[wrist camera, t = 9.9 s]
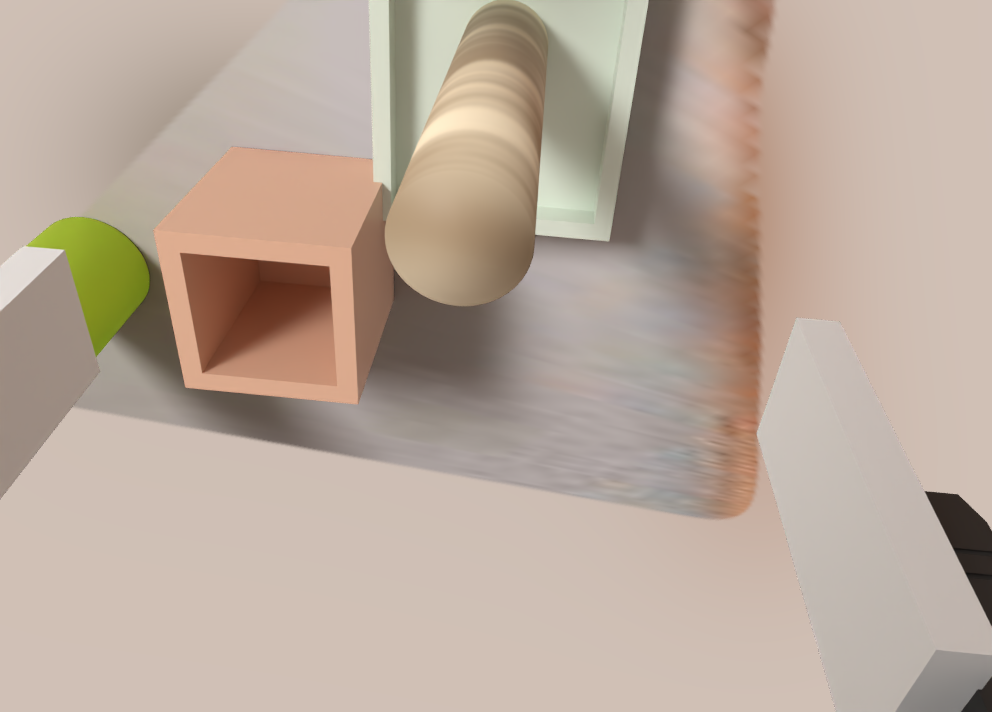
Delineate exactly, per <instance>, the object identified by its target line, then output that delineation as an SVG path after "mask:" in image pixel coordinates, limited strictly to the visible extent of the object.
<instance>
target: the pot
mask: <svg viewBox="0 0 992 712" xmlns="http://www.w3.org/2000/svg"><path fill="white" fill-rule="evenodd" d="M385 225H386V221H383V198H382V183H380V182H373V159H364V158H352V157H341V156H330V155H319V154H308V153H297V152H286V151H275V150H263V149H252V148H241V147H231V148H230V149H229V150H228V151H227V152H226V154H225V155H224V156H223V157H222V158H221V159H220V160H219V161H218V162H217V163H216V164H215V165H214V166H213V167H212V168H211V169H210V170H209V172H208V173H207V174H206V175H205V176H204V177H203V178H202V179H201V180H200V181H199V182H198V183H197V184H196V185H195V186H194V187H193V188H192V190H191V191H190V192H189V193H188V194H187V195H186V196H185V197H184V198H183V199H182V200H181V201H180V202H179V203H178V204H177V205H176V206H175V208H174V209H173V210H172V211H171V212H170V213H169V214H168V215H167V216H166V217H165V218H164V219H163V220H162V221H161V222H160V223H159V224H158V225H157V227H156V228H155V229H154V230H153V231H154V236H155V241H156V246H157V251H158V256H159V261H160V266H161V271H162V275H163V280H164V285H165V290H166V295H167V300H168V305H169V310H170V315H171V320H172V325H173V329H174V334H175V339H176V344H177V349H178V354H179V359H180V364H181V369H182V374H183V379H184V383H185V388H194V389H205V390H215V391H225V392H236V393H246V394H256V395H267V396H277V397H287V398H298V399H308V400H318V401H329V402H339V403H349V404H359V401H360V398H361V395H362V392H363V389H364V386H365V383H366V380H367V377H368V374H369V371H370V368H371V366H372V363H373V360H374V357H375V354H376V351H377V348H378V345H379V342H380V339H381V336H382V333H383V330H384V327H385V325H386V322H387V319H388V316H389V313H390V310H391V307H392V304H393V301H394V267H393V265H392V263H391V261H390V258H389V256H388V253H387V249H386V245H385Z"/></svg>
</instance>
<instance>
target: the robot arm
mask: <svg viewBox="0 0 992 712" xmlns="http://www.w3.org/2000/svg"><path fill="white" fill-rule="evenodd" d="M99 372H100V369H99V366H98V362H97V359H96V355H95V352H94V348H93V345H92V342H91V338H90V335H89V331H88V328H87V324H86V321H85V317H84V314H83V311H82V307H81V304H80V300H79V297H78V293H77V290H76V287H75V283H74V280H73V276H72V273H71V269H70V266H69V262H68V259H67V256H66V252H65V250H60V249H49V248H38V247H27V246H23V247H21V248H20V249H19V250H18V251H17V252H16V253H15V254H13V255H12V256H11V257H10V258H9V259H8V260H6V261H5V262H4V263H3V264H2V265H1V266H0V499H1V498H2V496H3V495H4V494H5V493H6V491H7V490H8V488H9V487H10V486H11V485H12V484H13V482H14V481H15V480H16V478H17V477H18V476H19V475H20V473H21V472H22V471H23V469H24V468H25V467H26V466H27V464H28V463H29V462H30V461H31V459H32V458H33V457H34V455H35V454H36V453H37V452H38V450H39V449H40V448H41V446H42V445H43V444H44V442H45V441H46V440H47V439H48V437H49V436H50V435H51V433H52V432H53V431H54V430H55V428H56V427H57V426H58V425H59V423H60V422H61V421H62V419H63V418H64V417H65V416H66V414H67V413H68V412H69V411H70V409H71V408H72V407H73V405H74V404H75V403H76V402H77V400H78V399H79V398H80V396H81V395H82V394H83V393H84V391H85V390H86V389H87V387H88V386H89V385H90V384H91V382H92V381H93V380H94V378H95V377H96V376H97V375H98V373H99ZM757 437H758V441H759V444H760V448H761V451H762V455H763V458H764V462H765V465H766V469H767V472H768V476H769V479H770V483H771V486H772V490H773V493H774V497H775V500H776V504H777V507H778V511H779V514H780V518H781V521H782V524H783V528H784V532H785V535H786V539H787V542H788V546H789V549H790V553H791V556H792V560H793V563H794V567H795V570H796V574H797V577H798V581H799V584H800V588H801V591H802V595H803V598H804V601H805V605H806V609H807V612H808V616H809V619H810V623H811V626H812V630H813V633H814V637H815V640H816V644H817V647H818V651H819V654H820V658H821V661H822V665H823V668H824V672H825V675H826V678H827V682H828V686H829V689H830V693H831V696H832V699H833V703H834V707H835V710H836V712H992V531H991V529H990V527H989V525H988V524H987V522H986V521H985V520H984V519H983V518H982V517H981V516H980V515H979V514H978V513H977V512H976V511H974V510H973V509H972V508H971V507H970V506H969V505H968V504H967V503H966V502H965V501H964V500H963V499H962V498H961V497H960V496H959V495H957V494H948V493H937V492H927V491H924V489H923V488H922V486H921V483H920V481H919V479H918V477H917V475H916V474H915V471H914V469H913V468H912V465H911V463H910V461H909V459H908V457H907V455H906V453H905V451H904V449H903V447H902V445H901V443H900V441H899V439H898V437H897V435H896V433H895V431H894V430H893V427H892V425H891V423H890V421H889V419H888V417H887V415H886V413H885V411H884V409H883V407H882V405H881V403H880V401H879V399H878V397H877V395H876V393H875V391H874V389H873V387H872V385H871V383H870V381H869V379H868V377H867V375H866V373H865V371H864V369H863V367H862V365H861V363H860V361H859V359H858V357H857V355H856V353H855V351H854V349H853V347H852V345H851V343H850V341H849V339H848V337H847V334H846V333H845V330H844V329H843V327H842V325H841V322H840V321H830V320H819V319H809V318H808V319H807V318H796V320H795V323H794V326H793V329H792V332H791V335H790V338H789V341H788V344H787V346H786V349H785V352H784V355H783V358H782V361H781V364H780V367H779V370H778V373H777V376H776V378H775V381H774V384H773V387H772V390H771V393H770V396H769V399H768V402H767V405H766V407H765V411H764V413H763V416H762V419H761V422H760V425H759V428H758V431H757Z"/></svg>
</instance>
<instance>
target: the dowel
mask: <svg viewBox="0 0 992 712" xmlns="http://www.w3.org/2000/svg"><path fill="white" fill-rule="evenodd" d="M547 58H548V36H547V31H546V28H545V26H544V24H543V22H542V20H541V19H540V17H539V16H538V15H537V13H536V12H535V11H534V10H532V9H531V8H530V7H528V6H527V5H525V4H523V3H521V2H518V1H515V0H496V1H492V2H490V3H487V4H486V5H484V6H482V7H481V8H480V9H478V10H477V11H476V12H475V13H474V14H473V16H472V17H471V19H470V20H469V22H468V24H467V26H466V29H465V31H464V33H463V36H462V38H461V41H460V43H459V45H458V48H457V50H456V53H455V55H454V57H453V60H452V62H451V65H450V67H449V69H448V72H447V74H446V77H445V79H444V81H443V84H442V86H441V89H440V91H439V93H438V96H437V98H436V101H435V103H434V105H433V108H432V110H431V113H430V115H429V117H428V120H427V122H426V124H425V127H424V129H423V132H422V134H421V136H420V139H419V141H418V144H417V146H416V148H415V151H414V153H413V156H412V158H411V160H410V163H409V165H408V168H407V170H406V172H405V175H404V177H403V180H402V182H401V184H400V187H399V189H398V192H397V194H396V196H395V199H394V201H393V204H392V206H391V208H390V211H389V214H388V216H387V220H386V225H385V245H386V249H387V253H388V256H389V258H390V261H391V263H392V265H393V267H394V268H395V270H396V271H397V273H398V274H399V276H400V277H401V278H402V279H403V280H404V281H405V282H406V283H407V284H408V285H409V286H410V287H411V288H413V289H414V290H415V291H417V292H418V293H420V294H421V295H423V296H425V297H427V298H429V299H431V300H434V301H436V302H439V303H443V304H447V305H453V306H476V305H481V304H485V303H488V302H492V301H494V300H496V299H498V298H501V297H502V296H504V295H505V294H507V293H509V292H510V291H511V290H512V289H513V288H515V287H516V286H517V285H518V283H519V282H520V281H521V280H522V279H523V277H524V276H525V274H526V273H527V271H528V269H529V267H530V264H531V261H532V258H533V253H534V244H535V230H536V215H537V201H538V187H539V172H540V158H541V144H542V129H543V115H544V101H545V87H546V72H547Z"/></svg>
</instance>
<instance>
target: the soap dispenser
mask: <svg viewBox="0 0 992 712" xmlns="http://www.w3.org/2000/svg"><path fill="white" fill-rule="evenodd" d="M27 247H38V248H49V249H60V250H65V252H66V256H67V259H68V262H69V266H70V269H71V273H72V276H73V280H74V283H75V287H76V290H77V293H78V297H79V300H80V304H81V307H82V311H83V314H84V317H85V321H86V324H87V328H88V331H89V335H90V338H91V342H92V345H93V348H94V352H95V355H96V357H97V355H98V354H99V353H100V352H101V351H102V349H103V348H104V347H105V346H106V345H107V343H108V342H109V341H110V340H111V339H112V337H113V336H114V335H115V334H116V333H117V331H118V330H119V329H120V328H121V327H122V325H123V324H124V323H125V322H126V321H127V319H128V318H129V317H130V316H131V315H132V313H133V312H134V311H135V310H136V309H137V307H138V306H139V305H140V304H141V303H142V301H143V300H144V299H145V297H146V295H147V293H148V290H149V284H150V277H149V271H148V267H147V264H146V262H145V260H144V258H143V256H142V254H141V253H140V251H139V250H138V249H137V247H136V246H135V245H134V244H133V243H132V242H131V241H130V240H129V239H128V238H127V237H126V236H125V235H124V234H122V233H121V232H120V231H118V230H117V229H115V228H113V227H111V226H110V225H108V224H105V223H103V222H100V221H98V220H94V219H90V218H84V217H70V218H65V219H62V220H59V221H57V222H55V223H53V224H52V225H50V226H49V227H48V228H47V229H46V230H45V231H43V232H42V233H41V234H40V235H39V236H37V237H36V238H35V239H34V240H33V241H31V242H30V243H29V244H28V245H27Z"/></svg>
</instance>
